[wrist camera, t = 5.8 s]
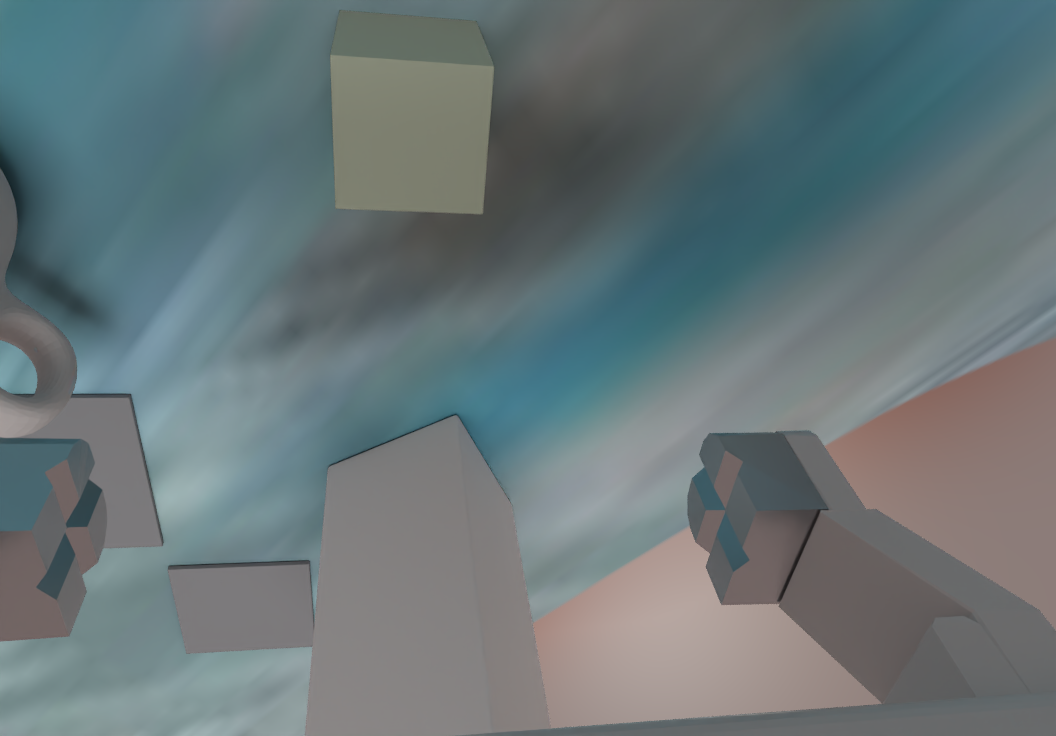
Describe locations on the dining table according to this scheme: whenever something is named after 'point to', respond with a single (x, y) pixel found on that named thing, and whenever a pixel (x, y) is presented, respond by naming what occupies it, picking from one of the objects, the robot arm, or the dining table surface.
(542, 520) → the dining table surface
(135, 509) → the thin grey square tile
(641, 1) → the dining table surface
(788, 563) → the robot arm
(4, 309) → the cup
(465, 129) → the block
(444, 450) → the milk
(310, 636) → the grey square coaster
